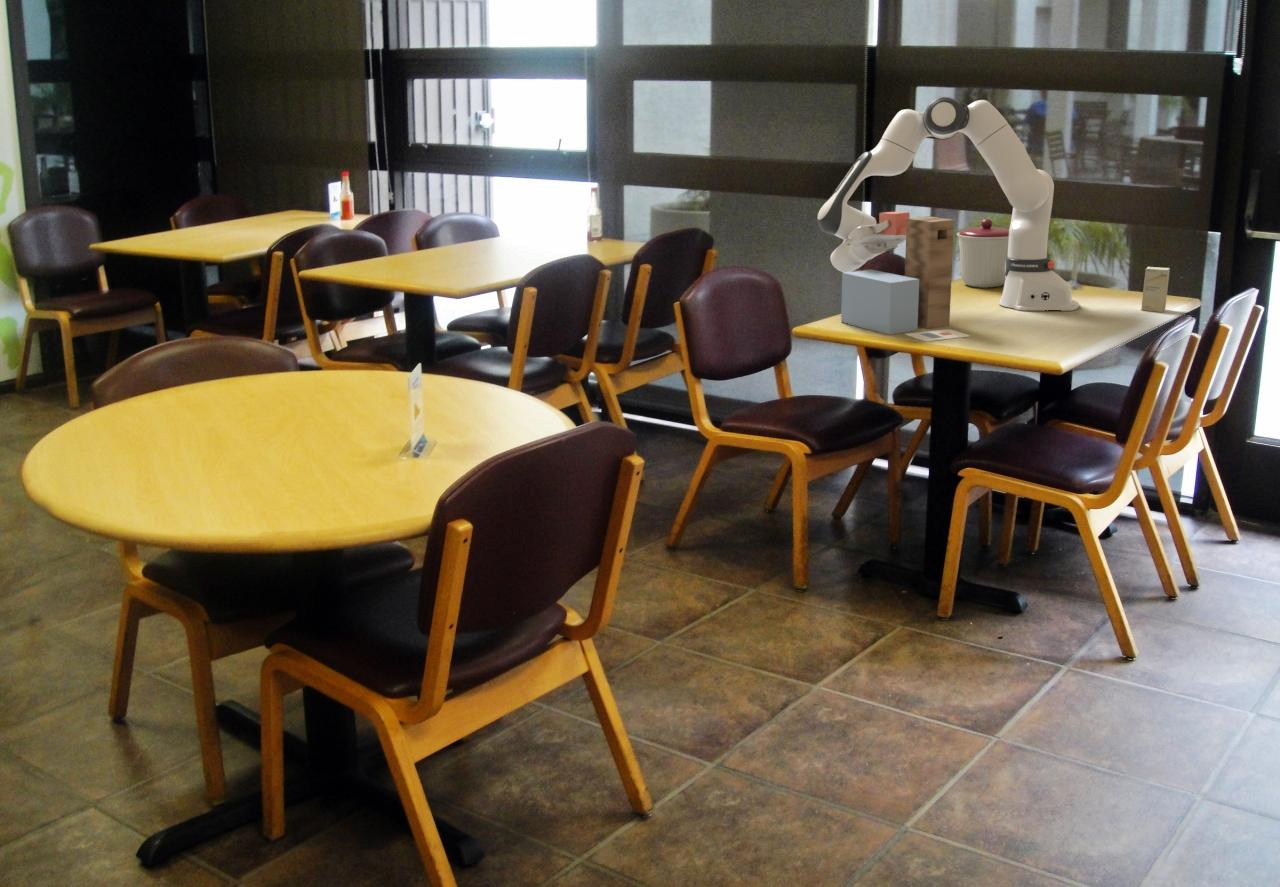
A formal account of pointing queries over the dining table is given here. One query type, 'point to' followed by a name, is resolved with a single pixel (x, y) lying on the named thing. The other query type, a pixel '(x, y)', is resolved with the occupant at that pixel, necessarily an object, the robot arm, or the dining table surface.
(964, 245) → the canister
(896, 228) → the peg brick
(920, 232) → the stand
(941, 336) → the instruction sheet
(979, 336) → the dining table surface
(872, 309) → the base block
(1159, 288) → the skincare box
